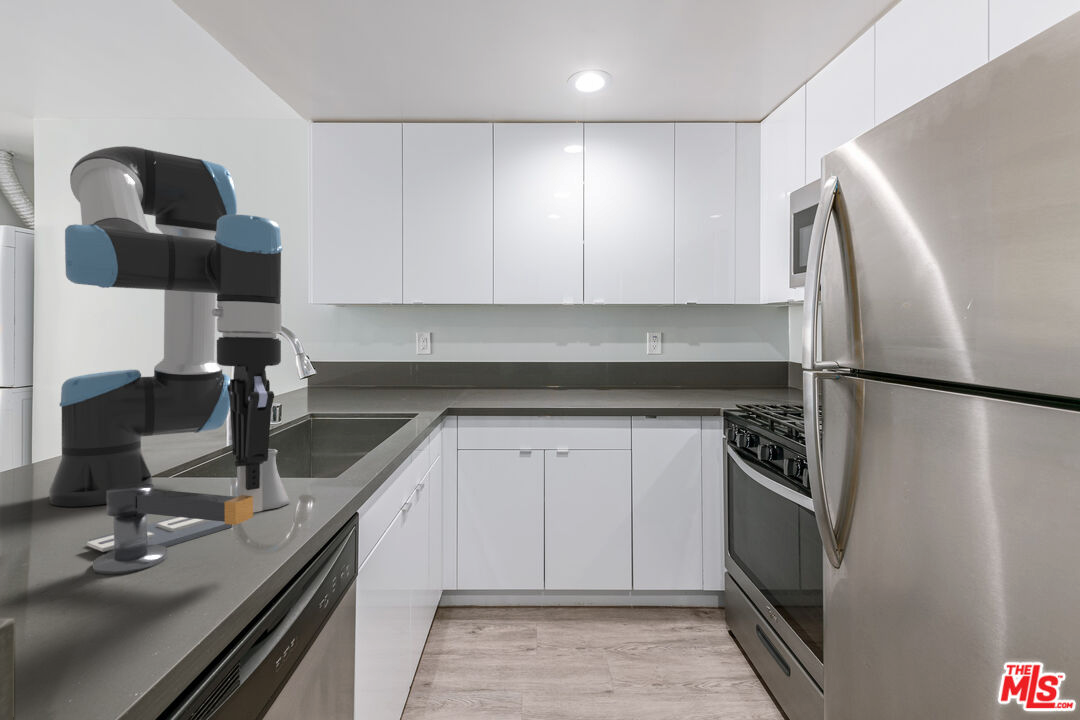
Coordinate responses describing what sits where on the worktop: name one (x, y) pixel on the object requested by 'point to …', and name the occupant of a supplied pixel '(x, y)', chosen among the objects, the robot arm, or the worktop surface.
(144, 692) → the worktop surface
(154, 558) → the round pedestal stand
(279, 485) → the flask
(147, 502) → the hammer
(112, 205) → the robot arm
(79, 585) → the worktop surface
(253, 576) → the worktop surface
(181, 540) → the label board
